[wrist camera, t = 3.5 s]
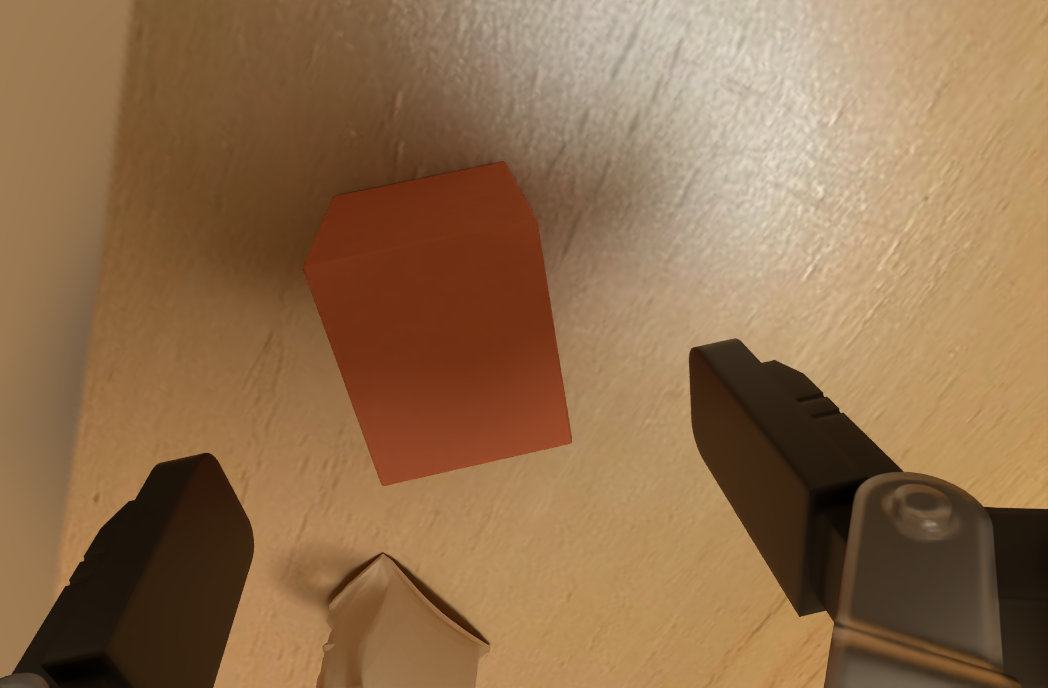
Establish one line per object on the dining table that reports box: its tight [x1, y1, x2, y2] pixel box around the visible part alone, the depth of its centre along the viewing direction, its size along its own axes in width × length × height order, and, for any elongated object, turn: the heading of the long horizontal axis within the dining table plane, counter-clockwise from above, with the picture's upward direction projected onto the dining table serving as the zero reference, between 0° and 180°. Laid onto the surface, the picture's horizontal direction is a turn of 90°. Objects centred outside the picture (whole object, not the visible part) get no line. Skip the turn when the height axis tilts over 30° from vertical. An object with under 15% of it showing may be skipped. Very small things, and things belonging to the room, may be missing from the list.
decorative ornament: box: [316, 554, 490, 688], centre depth 21 cm, size 4×8×5 cm, turn 31°
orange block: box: [303, 162, 572, 486], centre depth 15 cm, size 4×6×5 cm
